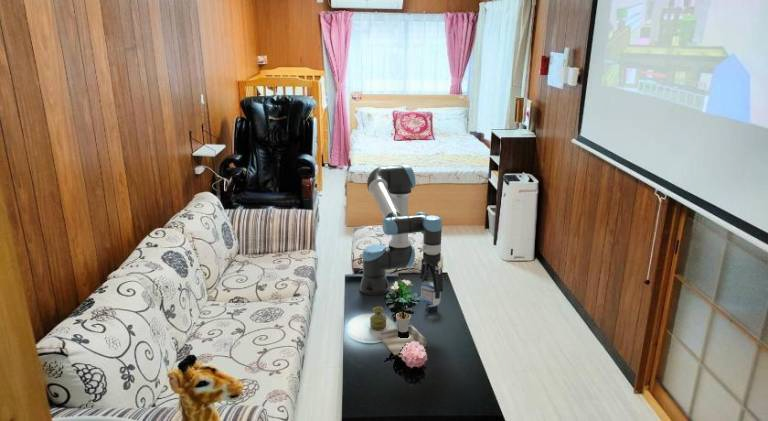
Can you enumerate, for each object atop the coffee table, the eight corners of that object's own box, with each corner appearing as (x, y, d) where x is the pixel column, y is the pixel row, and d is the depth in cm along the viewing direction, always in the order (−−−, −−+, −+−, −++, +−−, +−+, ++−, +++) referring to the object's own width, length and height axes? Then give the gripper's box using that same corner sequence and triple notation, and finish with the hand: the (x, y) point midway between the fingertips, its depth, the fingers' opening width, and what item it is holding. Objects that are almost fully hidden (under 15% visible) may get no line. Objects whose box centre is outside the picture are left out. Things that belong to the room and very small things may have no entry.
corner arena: (380, 339, 227) (380, 332, 226) (411, 331, 233) (411, 324, 232) (394, 355, 215) (394, 348, 214) (426, 347, 221) (426, 339, 220)
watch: (441, 311, 250) (442, 290, 247) (424, 312, 249) (425, 291, 246) (438, 306, 255) (439, 285, 252) (422, 307, 254) (422, 286, 251)
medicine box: (420, 302, 230) (420, 284, 228) (424, 297, 234) (424, 280, 231) (437, 305, 227) (438, 287, 224) (440, 301, 231) (441, 283, 228)
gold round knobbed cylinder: (366, 327, 237) (366, 307, 234) (377, 321, 242) (377, 301, 239) (378, 332, 232) (378, 312, 229) (389, 326, 237) (389, 306, 234)
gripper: (412, 244, 231) (411, 291, 238) (437, 262, 213) (435, 312, 219) (427, 242, 234) (426, 288, 241) (452, 259, 216) (450, 308, 222)
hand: (430, 299), depth 230 cm, fingers closed on medicine box, 9 cm apart
